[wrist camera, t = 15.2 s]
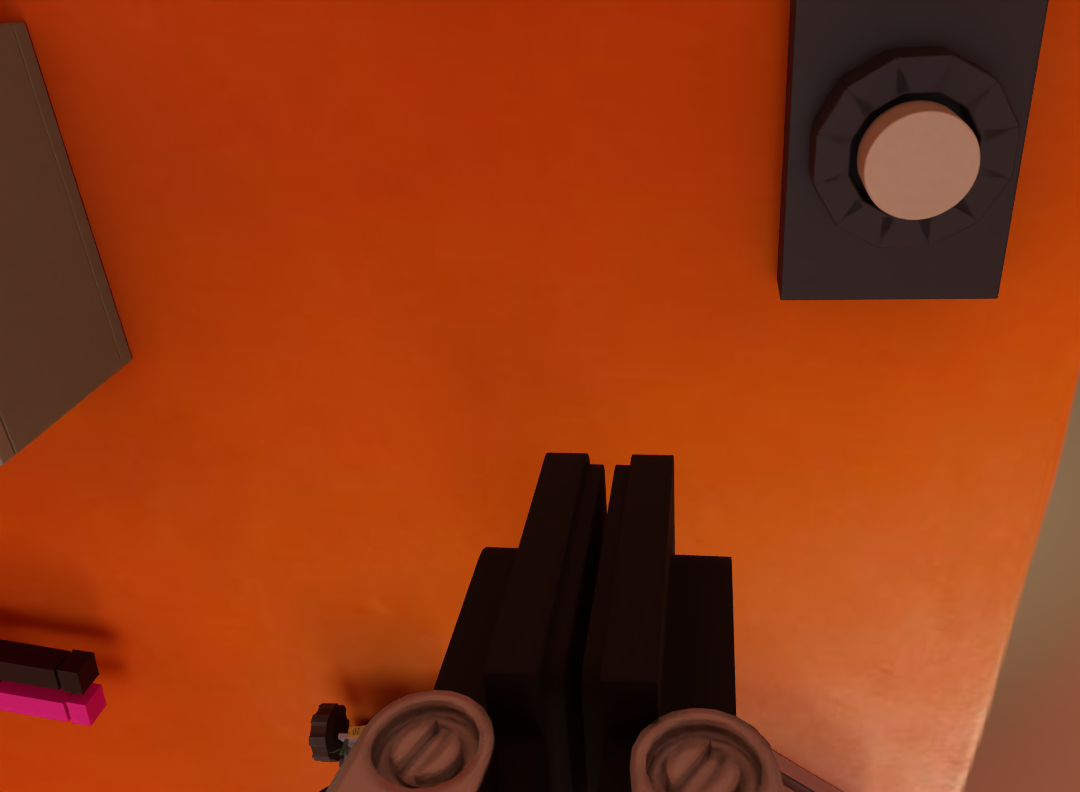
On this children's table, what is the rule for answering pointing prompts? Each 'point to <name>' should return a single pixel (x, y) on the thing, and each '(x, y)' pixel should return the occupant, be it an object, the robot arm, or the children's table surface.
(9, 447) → the lid
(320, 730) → the toy vehicle
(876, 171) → the button
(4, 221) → the chest
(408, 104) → the children's table surface
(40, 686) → the blocky doll
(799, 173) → the control block
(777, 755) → the charger
